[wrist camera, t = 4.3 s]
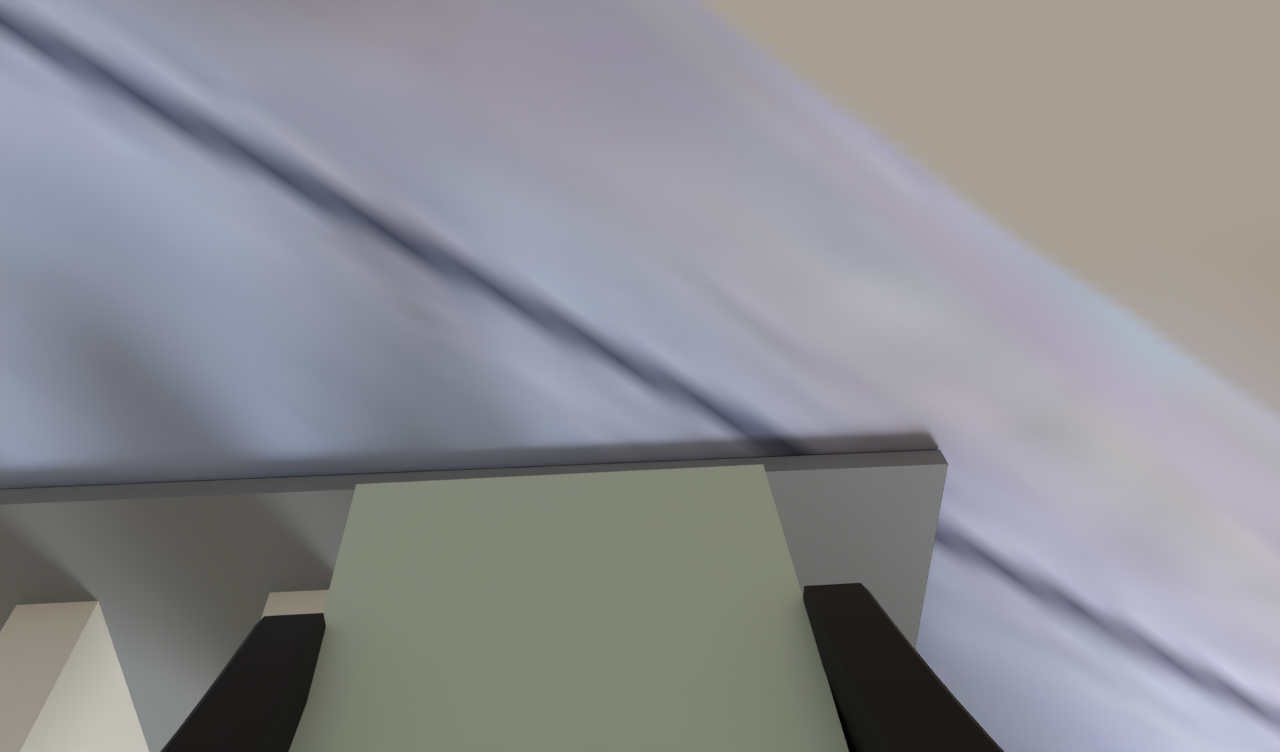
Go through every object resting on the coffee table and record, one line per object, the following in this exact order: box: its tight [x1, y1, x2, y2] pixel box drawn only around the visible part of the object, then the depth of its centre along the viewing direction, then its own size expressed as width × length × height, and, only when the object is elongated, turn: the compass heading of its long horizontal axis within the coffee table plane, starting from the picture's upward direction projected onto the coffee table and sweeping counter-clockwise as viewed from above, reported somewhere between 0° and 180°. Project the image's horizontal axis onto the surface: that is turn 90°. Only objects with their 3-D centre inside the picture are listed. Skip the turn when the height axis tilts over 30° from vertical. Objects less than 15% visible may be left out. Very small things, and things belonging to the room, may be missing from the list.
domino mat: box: [0, 450, 948, 752], centre depth 23 cm, size 27×10×1 cm, turn 90°
